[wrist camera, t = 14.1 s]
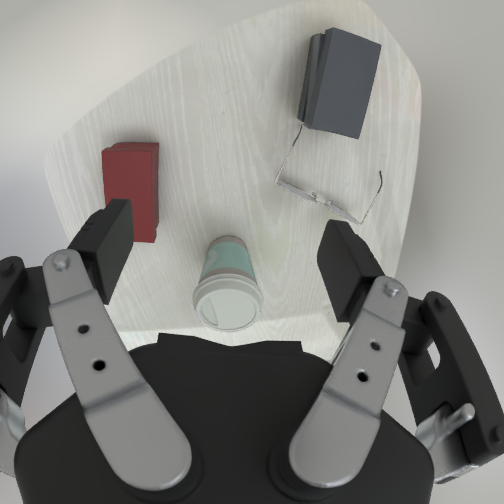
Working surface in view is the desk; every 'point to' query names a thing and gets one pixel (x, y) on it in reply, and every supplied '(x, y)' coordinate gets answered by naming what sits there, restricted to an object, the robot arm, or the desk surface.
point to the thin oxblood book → (132, 185)
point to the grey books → (338, 82)
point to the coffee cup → (228, 288)
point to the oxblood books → (156, 146)
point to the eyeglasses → (311, 199)
